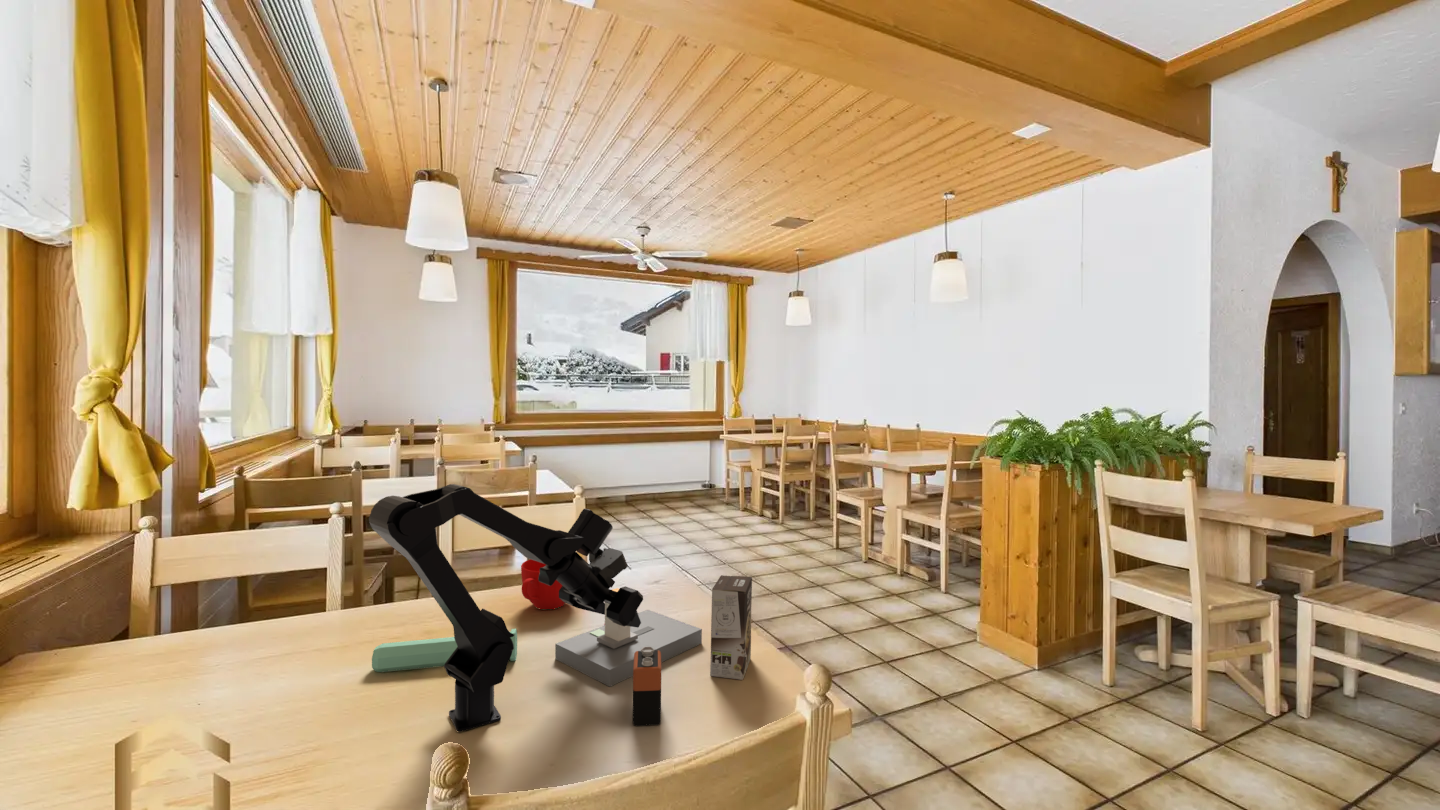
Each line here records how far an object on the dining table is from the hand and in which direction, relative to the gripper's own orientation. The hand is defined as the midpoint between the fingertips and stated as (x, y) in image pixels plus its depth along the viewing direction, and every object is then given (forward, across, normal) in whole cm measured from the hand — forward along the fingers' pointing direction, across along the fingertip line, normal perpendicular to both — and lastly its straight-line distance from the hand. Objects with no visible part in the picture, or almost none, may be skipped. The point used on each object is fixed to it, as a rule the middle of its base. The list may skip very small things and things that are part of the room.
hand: (623, 618), depth 120 cm
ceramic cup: (+8, +32, +2) cm, 33 cm away
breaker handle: (+2, 0, +4) cm, 4 cm away
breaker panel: (+6, 0, +4) cm, 7 cm away
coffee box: (+12, -19, -2) cm, 23 cm away
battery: (-3, -20, +14) cm, 24 cm away
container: (-12, +22, +23) cm, 34 cm away
